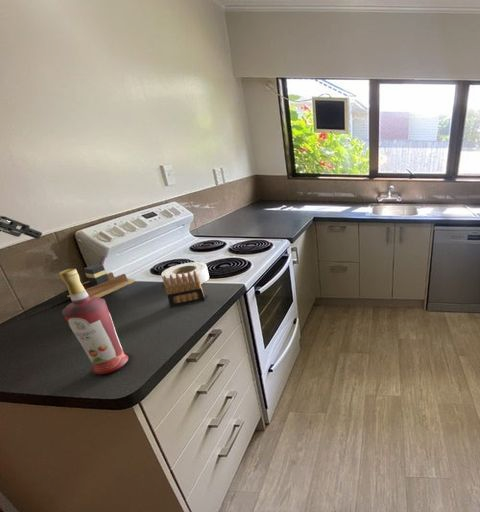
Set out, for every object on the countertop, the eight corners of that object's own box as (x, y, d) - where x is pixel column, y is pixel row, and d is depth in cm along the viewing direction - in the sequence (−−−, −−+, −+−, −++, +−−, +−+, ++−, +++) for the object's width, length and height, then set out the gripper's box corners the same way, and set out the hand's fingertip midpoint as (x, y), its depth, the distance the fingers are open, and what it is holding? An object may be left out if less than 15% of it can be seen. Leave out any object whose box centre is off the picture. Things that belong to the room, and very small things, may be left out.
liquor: (137, 356, 79) (98, 263, 68) (119, 376, 72) (72, 277, 61) (107, 359, 78) (62, 265, 67) (86, 380, 71) (32, 279, 60)
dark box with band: (92, 289, 111) (82, 268, 108) (103, 284, 115) (95, 264, 111) (100, 290, 110) (91, 269, 107) (111, 285, 114) (103, 265, 111)
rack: (67, 298, 107) (63, 289, 105) (113, 279, 121) (109, 270, 120) (90, 301, 105) (86, 292, 103) (134, 281, 119) (131, 273, 118)
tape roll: (187, 271, 128) (183, 260, 126) (217, 274, 125) (215, 263, 123) (154, 288, 114) (150, 276, 112) (188, 292, 111) (184, 279, 109)
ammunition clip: (205, 298, 107) (197, 269, 103) (205, 300, 106) (197, 271, 101) (171, 305, 103) (161, 275, 98) (170, 307, 101) (160, 277, 97)
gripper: (-19, 196, 76) (53, 226, 91) (-55, 194, 79) (21, 223, 94) (-39, 221, 74) (39, 247, 88) (-76, 217, 76) (6, 243, 91)
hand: (30, 234), depth 91 cm, fingers open, 8 cm apart
